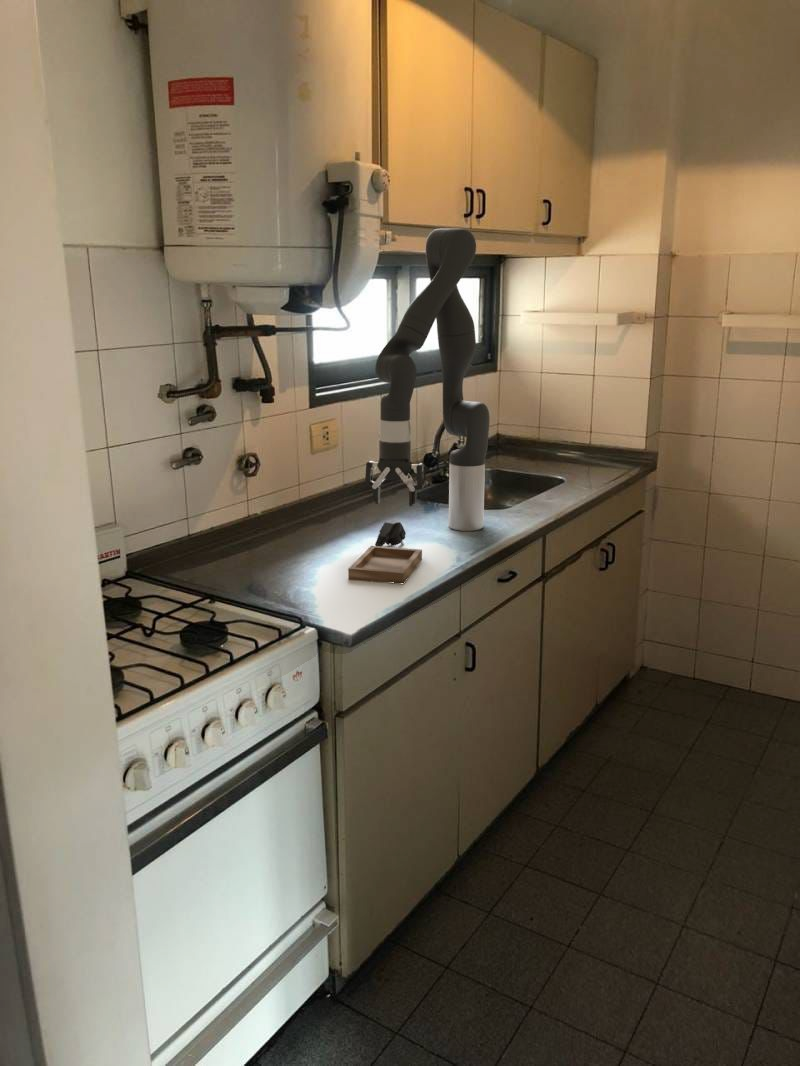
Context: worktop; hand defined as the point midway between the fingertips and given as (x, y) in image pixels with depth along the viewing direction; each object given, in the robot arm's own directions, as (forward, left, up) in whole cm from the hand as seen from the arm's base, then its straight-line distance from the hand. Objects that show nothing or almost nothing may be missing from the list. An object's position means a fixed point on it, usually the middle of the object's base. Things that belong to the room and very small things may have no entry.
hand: (394, 504), depth 207 cm
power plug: (+3, -1, -11) cm, 11 cm away
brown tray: (+18, +3, -10) cm, 21 cm away
